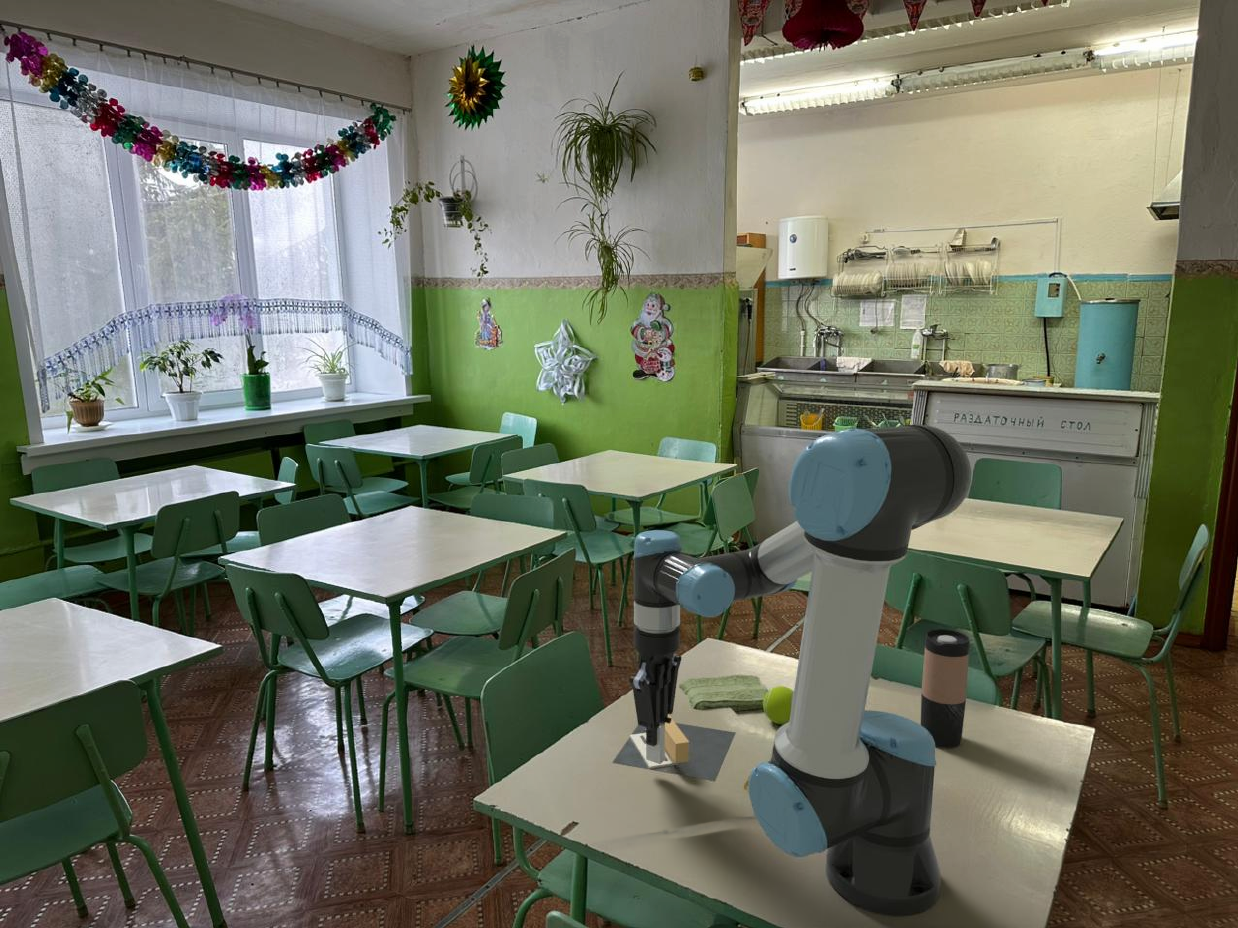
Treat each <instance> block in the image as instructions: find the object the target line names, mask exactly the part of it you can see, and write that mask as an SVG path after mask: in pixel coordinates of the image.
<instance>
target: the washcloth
mask: <svg viewBox="0 0 1238 928" xmlns="http://www.w3.org/2000/svg"><path fill="white" fill-rule="evenodd" d="M678 686H679V689H681V691H683V694H685V695H686V696H687V698H688V700H689V703H690V707H691V708H692V709H697V710H702V711H703V710H705V709H706V710H707V709H711V708H712V709H718V708H725V707H729V708H730V709H731V710H732V711H733V712H738V711H737V710H741V711H747V710H748V709H750V710H756V709H757V708H758V709H763V700H764V697H765V695H766V693H767V692H768V691H769V690H768V689H767V687H766V685H765V684H763V682H762V681H761V679H760V676H757V675H752V674H750V675H749V674H748V675H747V674H734V675H733V674H732V675H726V676H725V675H722V676H718V677H698V678H697V677H696V678H688V679H686V680H682V681H681V682H680V683H679V685H678Z"/></svg>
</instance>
